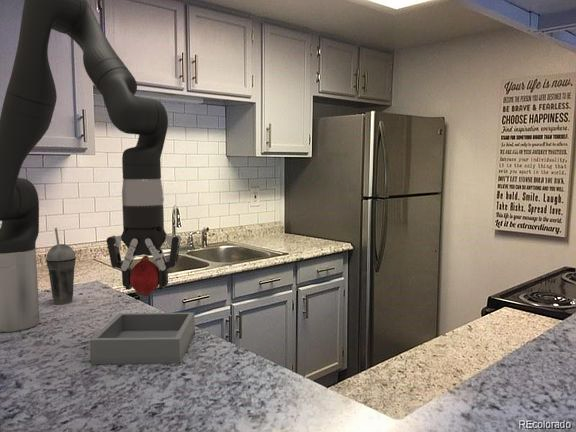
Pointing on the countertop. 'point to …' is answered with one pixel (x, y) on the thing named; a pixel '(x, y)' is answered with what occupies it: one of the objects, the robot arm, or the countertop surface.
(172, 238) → the robot arm
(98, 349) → the tray
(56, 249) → the beverage cup
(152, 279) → the onion
